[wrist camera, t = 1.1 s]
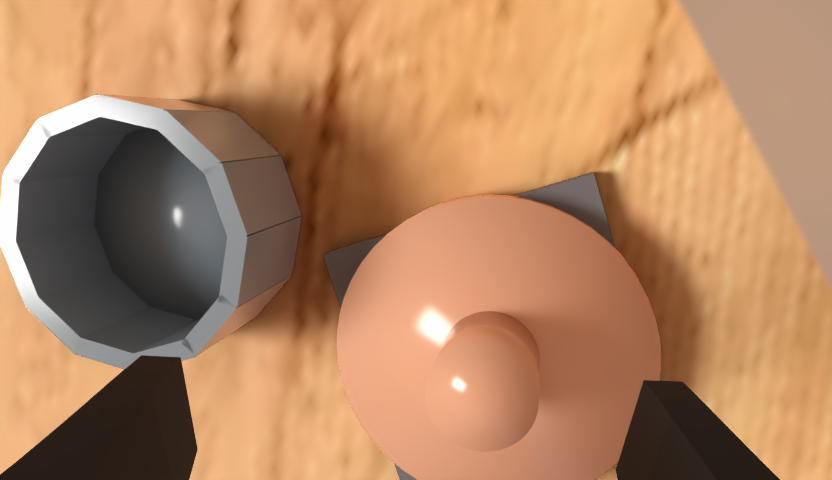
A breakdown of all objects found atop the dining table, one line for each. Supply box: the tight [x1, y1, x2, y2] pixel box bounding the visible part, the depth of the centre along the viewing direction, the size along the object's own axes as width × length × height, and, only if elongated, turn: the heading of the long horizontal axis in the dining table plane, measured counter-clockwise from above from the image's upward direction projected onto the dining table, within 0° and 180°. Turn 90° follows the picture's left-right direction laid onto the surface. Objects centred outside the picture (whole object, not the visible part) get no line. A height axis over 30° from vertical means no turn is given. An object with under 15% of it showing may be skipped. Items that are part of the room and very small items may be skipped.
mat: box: [323, 172, 615, 480], centre depth 20 cm, size 9×9×1 cm
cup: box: [0, 94, 302, 369], centre depth 20 cm, size 8×8×4 cm
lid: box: [337, 194, 661, 480], centre depth 18 cm, size 10×10×4 cm
